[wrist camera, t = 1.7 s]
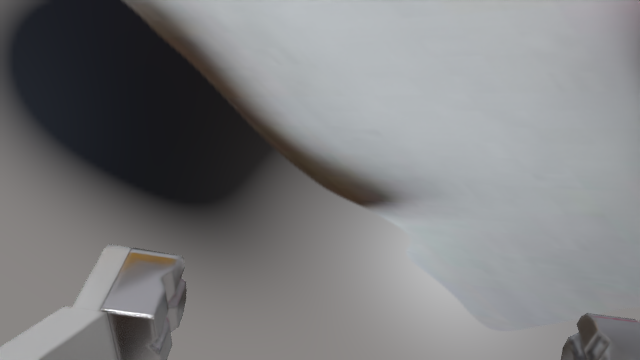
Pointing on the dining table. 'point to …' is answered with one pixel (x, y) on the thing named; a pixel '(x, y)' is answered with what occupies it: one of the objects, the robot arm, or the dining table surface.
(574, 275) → the dining table surface
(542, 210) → the dining table surface
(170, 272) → the robot arm
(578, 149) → the dining table surface
